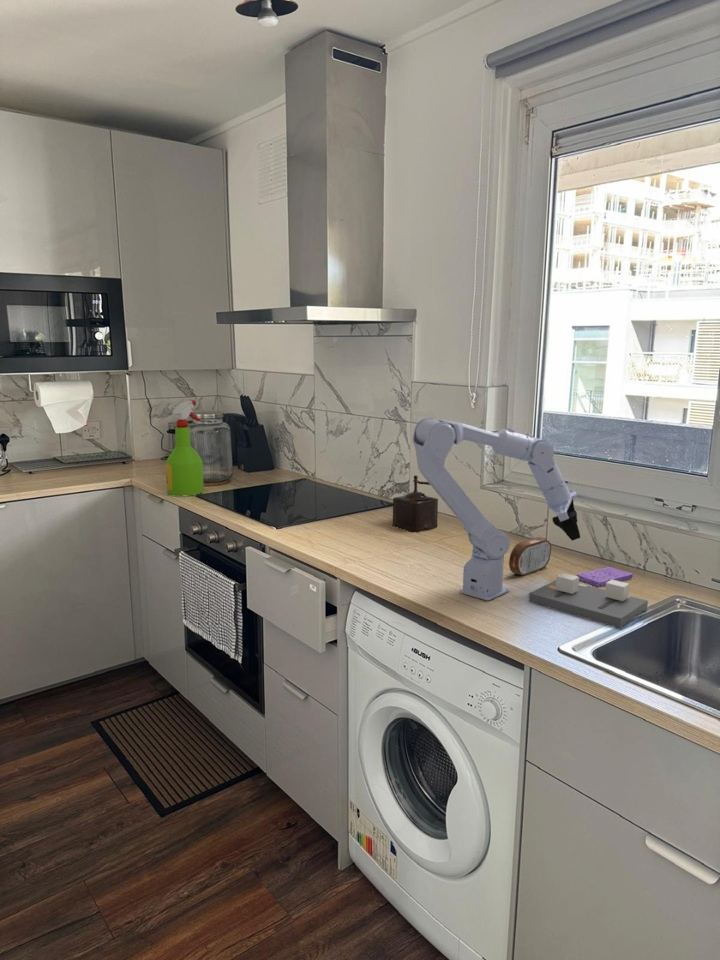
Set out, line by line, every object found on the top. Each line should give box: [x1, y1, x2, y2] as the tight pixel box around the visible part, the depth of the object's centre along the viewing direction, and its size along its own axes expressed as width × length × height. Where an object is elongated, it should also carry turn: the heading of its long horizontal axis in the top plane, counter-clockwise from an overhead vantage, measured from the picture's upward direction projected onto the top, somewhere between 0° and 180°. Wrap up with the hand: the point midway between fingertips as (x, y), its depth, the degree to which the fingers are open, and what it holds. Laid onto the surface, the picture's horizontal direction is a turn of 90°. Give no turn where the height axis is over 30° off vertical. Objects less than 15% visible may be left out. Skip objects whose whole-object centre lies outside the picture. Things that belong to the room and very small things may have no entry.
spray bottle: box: [165, 399, 205, 497], centre depth 265 cm, size 14×18×35 cm
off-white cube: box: [555, 572, 580, 594], centre depth 156 cm, size 3×4×3 cm
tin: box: [508, 536, 552, 576], centre depth 176 cm, size 15×3×8 cm, turn 131°
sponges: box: [576, 566, 634, 588], centre depth 171 cm, size 7×13×2 cm, turn 122°
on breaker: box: [604, 580, 630, 601], centre depth 152 cm, size 3×4×3 cm
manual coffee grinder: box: [392, 475, 439, 533], centre depth 218 cm, size 16×11×18 cm
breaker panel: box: [528, 579, 649, 629], centre depth 153 cm, size 14×21×2 cm, turn 47°
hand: (574, 530), depth 165 cm, fingers open, 7 cm apart
